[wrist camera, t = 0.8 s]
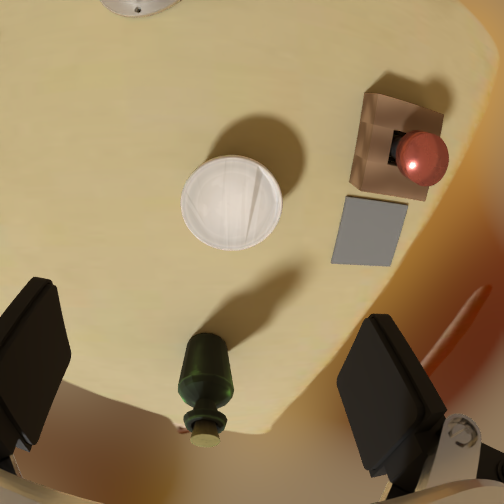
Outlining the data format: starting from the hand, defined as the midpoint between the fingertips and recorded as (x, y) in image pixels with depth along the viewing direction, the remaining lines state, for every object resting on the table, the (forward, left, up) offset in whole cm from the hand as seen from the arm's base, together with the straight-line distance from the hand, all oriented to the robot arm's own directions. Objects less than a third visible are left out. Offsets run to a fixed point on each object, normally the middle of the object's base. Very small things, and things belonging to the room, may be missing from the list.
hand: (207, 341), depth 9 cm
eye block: (-4, +22, -31) cm, 38 cm away
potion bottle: (+31, 0, -32) cm, 44 cm away
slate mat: (+9, +22, -31) cm, 39 cm away
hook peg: (-4, +22, -31) cm, 38 cm away
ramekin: (+5, +2, -32) cm, 32 cm away
